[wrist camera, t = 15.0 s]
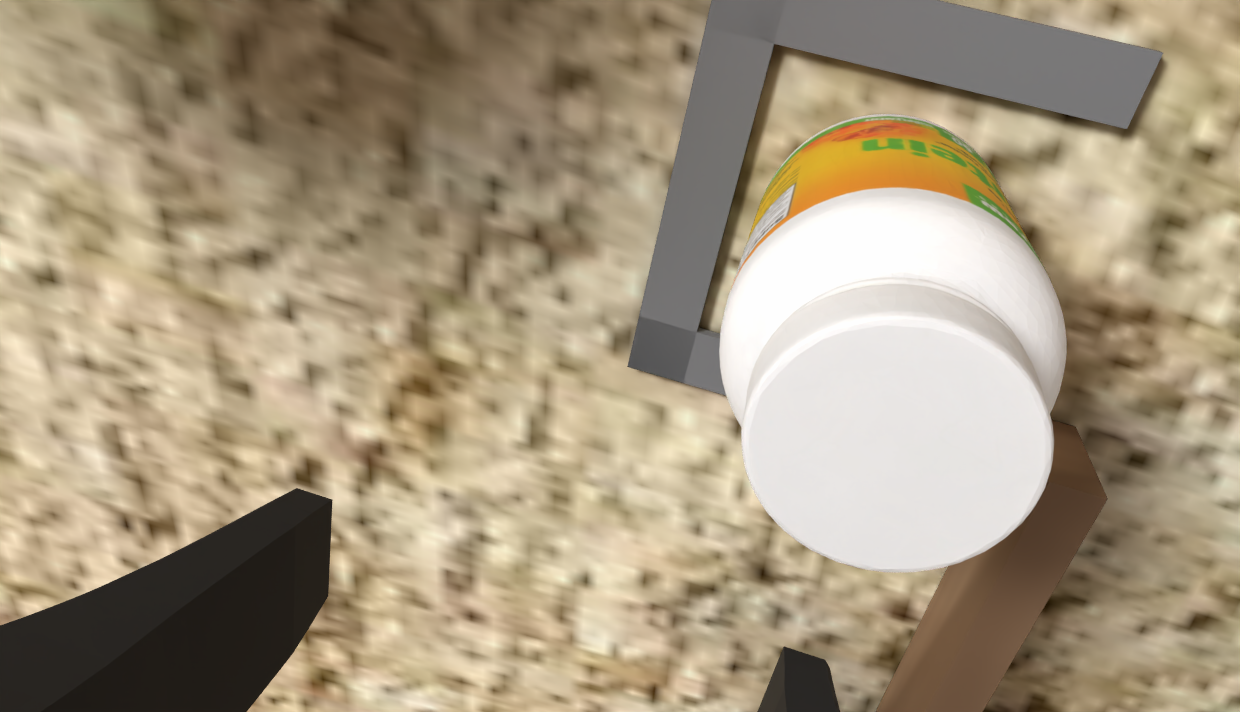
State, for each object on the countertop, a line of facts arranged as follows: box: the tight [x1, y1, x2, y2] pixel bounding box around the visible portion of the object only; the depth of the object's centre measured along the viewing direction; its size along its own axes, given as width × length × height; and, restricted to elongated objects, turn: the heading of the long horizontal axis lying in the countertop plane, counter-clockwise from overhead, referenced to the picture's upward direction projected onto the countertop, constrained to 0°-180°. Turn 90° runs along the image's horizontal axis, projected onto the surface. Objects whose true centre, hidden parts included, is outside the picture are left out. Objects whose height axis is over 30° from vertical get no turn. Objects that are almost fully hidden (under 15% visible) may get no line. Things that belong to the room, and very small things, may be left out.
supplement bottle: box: [719, 114, 1067, 572], centre depth 16 cm, size 5×5×10 cm
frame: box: [628, 0, 1163, 395], centre depth 20 cm, size 9×10×1 cm
